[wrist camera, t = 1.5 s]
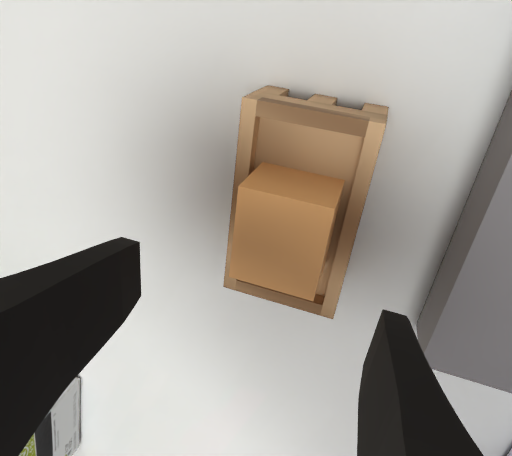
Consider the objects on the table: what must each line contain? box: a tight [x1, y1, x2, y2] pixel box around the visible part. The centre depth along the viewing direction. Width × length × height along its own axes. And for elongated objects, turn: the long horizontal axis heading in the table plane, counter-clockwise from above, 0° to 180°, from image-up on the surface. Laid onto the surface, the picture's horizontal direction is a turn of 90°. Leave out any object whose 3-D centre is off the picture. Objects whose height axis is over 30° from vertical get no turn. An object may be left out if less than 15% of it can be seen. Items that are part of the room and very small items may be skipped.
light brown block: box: [229, 162, 345, 301], centre depth 16 cm, size 4×4×3 cm
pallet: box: [224, 86, 388, 319], centre depth 19 cm, size 9×5×4 cm, turn 173°
